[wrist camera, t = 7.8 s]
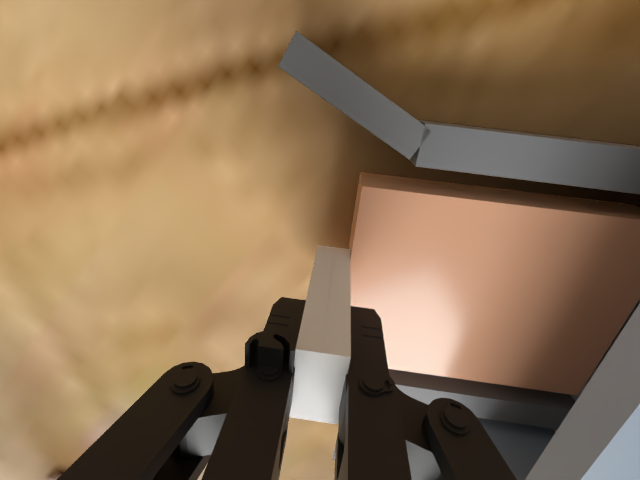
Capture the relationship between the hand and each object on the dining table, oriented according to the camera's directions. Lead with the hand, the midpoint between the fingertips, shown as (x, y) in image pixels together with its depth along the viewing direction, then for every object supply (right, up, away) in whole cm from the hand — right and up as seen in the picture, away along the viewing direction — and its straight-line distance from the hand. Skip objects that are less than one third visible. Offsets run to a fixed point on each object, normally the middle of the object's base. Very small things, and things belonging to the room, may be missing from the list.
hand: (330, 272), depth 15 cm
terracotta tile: (+7, 0, +2) cm, 7 cm away
